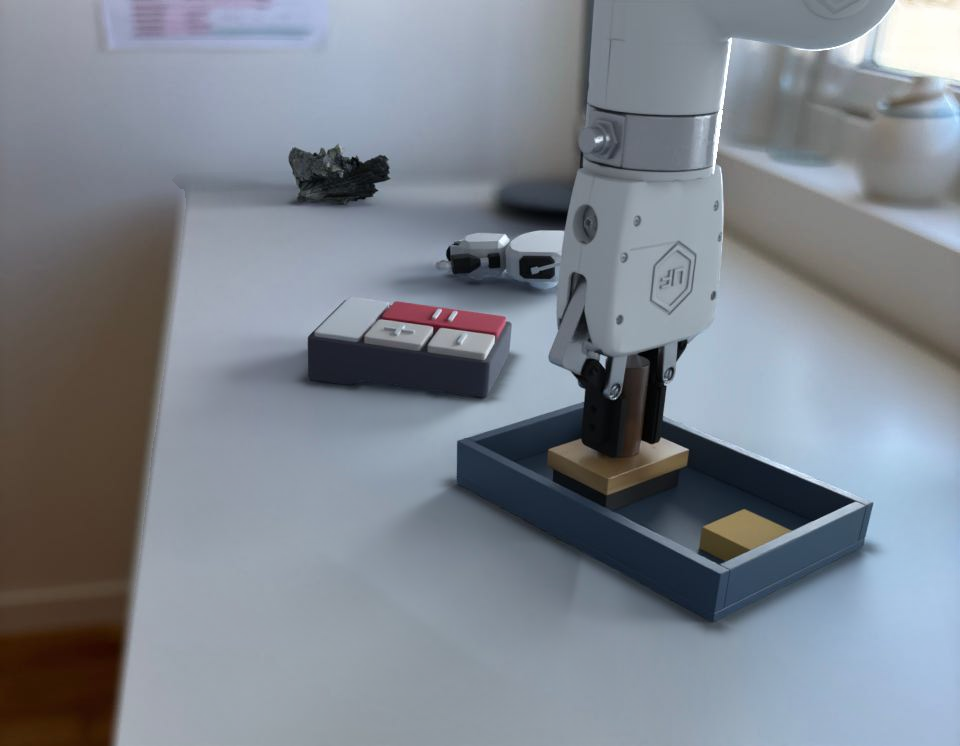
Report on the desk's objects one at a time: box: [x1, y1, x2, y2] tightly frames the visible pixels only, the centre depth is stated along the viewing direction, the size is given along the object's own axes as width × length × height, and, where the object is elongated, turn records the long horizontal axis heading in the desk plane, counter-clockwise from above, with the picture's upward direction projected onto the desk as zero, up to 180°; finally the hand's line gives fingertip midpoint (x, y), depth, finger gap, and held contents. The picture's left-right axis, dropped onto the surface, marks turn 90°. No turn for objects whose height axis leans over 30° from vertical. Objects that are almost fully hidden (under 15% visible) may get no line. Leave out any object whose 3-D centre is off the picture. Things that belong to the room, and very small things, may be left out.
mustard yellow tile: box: [699, 509, 791, 561], centre depth 68 cm, size 4×4×2 cm
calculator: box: [307, 296, 513, 399], centre depth 95 cm, size 11×4×15 cm
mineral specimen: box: [287, 143, 392, 206], centre depth 146 cm, size 15×13×10 cm
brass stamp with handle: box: [547, 354, 689, 511], centre depth 74 cm, size 8×6×9 cm
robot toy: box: [435, 230, 565, 290], centre depth 118 cm, size 12×4×15 cm
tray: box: [456, 401, 874, 623], centre depth 73 cm, size 15×23×3 cm, turn 40°
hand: (620, 441), depth 74 cm, fingers closed on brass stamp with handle, 2 cm apart
